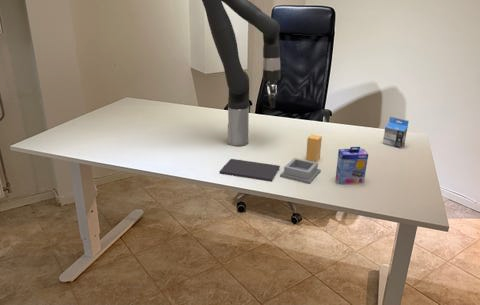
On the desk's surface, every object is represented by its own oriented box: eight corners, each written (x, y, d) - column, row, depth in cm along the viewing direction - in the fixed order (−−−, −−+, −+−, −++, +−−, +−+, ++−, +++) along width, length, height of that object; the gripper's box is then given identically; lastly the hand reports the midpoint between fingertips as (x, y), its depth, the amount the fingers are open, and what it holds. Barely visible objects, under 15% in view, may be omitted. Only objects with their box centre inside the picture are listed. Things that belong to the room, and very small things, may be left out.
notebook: (219, 174, 154) (272, 183, 148) (219, 171, 154) (272, 179, 147) (230, 161, 165) (280, 169, 159) (230, 158, 165) (280, 165, 158)
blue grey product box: (382, 143, 183) (385, 118, 178) (385, 141, 185) (389, 116, 180) (401, 148, 177) (405, 122, 172) (404, 146, 180) (409, 120, 175)
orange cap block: (306, 159, 166) (307, 137, 162) (309, 156, 170) (311, 134, 166) (316, 162, 164) (318, 139, 160) (319, 158, 168) (321, 136, 164)
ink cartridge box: (338, 184, 146) (343, 148, 140) (334, 178, 151) (338, 142, 145) (365, 183, 146) (370, 147, 141) (359, 177, 151) (364, 141, 146)
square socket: (280, 176, 151) (280, 167, 150) (292, 165, 161) (292, 156, 159) (309, 184, 146) (310, 174, 144) (320, 171, 156) (321, 162, 154)
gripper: (261, 66, 176) (262, 101, 182) (263, 71, 162) (264, 109, 168) (278, 65, 176) (278, 101, 182) (282, 70, 162) (282, 109, 168)
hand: (271, 105), depth 175 cm, fingers open, 8 cm apart
